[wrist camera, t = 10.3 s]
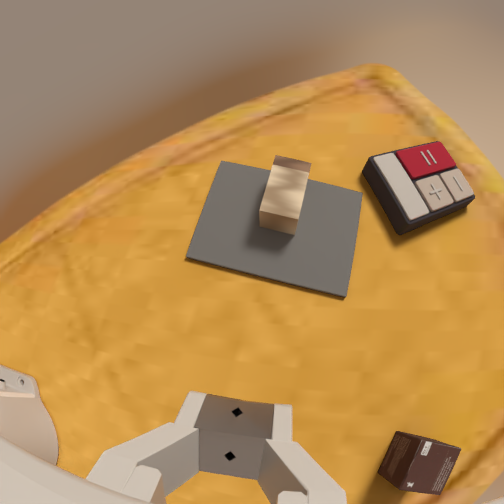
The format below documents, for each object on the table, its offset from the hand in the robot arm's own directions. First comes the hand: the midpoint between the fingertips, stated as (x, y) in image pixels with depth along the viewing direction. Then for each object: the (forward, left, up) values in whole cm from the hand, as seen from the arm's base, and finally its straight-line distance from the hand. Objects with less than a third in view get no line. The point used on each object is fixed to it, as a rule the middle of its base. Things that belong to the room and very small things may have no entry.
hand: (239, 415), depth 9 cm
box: (+21, -6, -28) cm, 36 cm away
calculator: (+17, +31, -29) cm, 45 cm away
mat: (-2, +19, -28) cm, 34 cm away
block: (-2, +18, -25) cm, 31 cm away
